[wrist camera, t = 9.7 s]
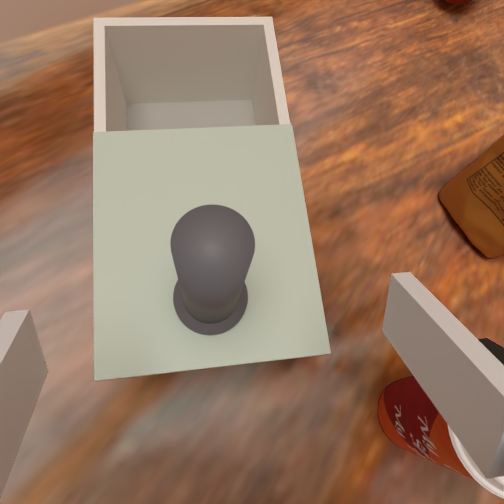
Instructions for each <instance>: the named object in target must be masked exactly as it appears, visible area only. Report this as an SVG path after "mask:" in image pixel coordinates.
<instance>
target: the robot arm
mask: <svg viewBox="0 0 504 504" xmlns="http://www.w3.org/2000/svg"><path fill="white" fill-rule="evenodd" d="M382 332H383V333H384V335H385V336H386V338H387V339H388V340H389V342H390V343H391V345H392V346H393V348H394V349H395V350H396V352H397V353H398V355H399V356H400V357H401V359H402V360H403V362H404V363H405V365H406V366H407V367H408V369H409V370H410V372H411V373H412V374H413V376H414V377H415V379H416V380H417V381H418V383H419V384H420V386H421V387H422V389H423V390H424V391H425V393H426V394H427V396H428V397H429V398H430V400H431V401H432V403H433V404H434V406H435V407H436V408H437V410H438V411H439V413H440V414H441V415H442V417H443V418H444V420H445V421H446V422H447V424H448V425H449V427H450V428H451V430H452V431H453V432H454V434H455V435H456V437H457V438H458V439H459V441H460V442H461V444H462V445H463V447H464V448H465V449H466V451H467V452H468V454H469V455H470V456H471V458H472V459H473V461H474V462H475V463H476V465H477V466H478V468H479V469H480V471H481V472H482V473H483V475H484V476H485V478H486V479H490V478H495V477H501V476H504V348H503V347H502V346H500V345H498V344H496V343H495V342H493V341H491V340H489V339H488V338H484V339H477V338H476V337H475V336H474V335H473V334H472V333H471V332H470V331H469V330H468V329H467V328H466V327H465V326H464V325H463V324H462V323H461V322H460V321H459V320H458V319H457V318H456V317H455V316H454V315H453V314H452V313H451V312H450V311H449V310H448V309H447V308H446V307H445V306H444V305H443V304H442V303H441V302H440V301H439V300H438V299H437V298H436V297H435V296H434V295H433V294H432V293H431V292H430V291H428V290H427V289H426V288H425V287H424V286H423V285H422V284H421V283H420V282H419V281H418V280H417V279H416V278H415V277H414V276H413V275H412V274H411V273H410V272H404V273H394V274H391V278H390V285H389V291H388V297H387V304H386V310H385V316H384V323H383V329H382ZM47 373H48V369H47V365H46V362H45V359H44V356H43V352H42V349H41V346H40V342H39V339H38V336H37V333H36V329H35V326H34V323H33V320H32V316H31V313H30V310H20V311H10V312H5V313H4V315H3V317H2V318H1V320H0V498H1V495H2V492H3V490H4V487H5V484H6V482H7V479H8V476H9V474H10V471H11V469H12V466H13V463H14V461H15V458H16V455H17V453H18V450H19V447H20V445H21V442H22V439H23V437H24V434H25V431H26V429H27V426H28V423H29V421H30V418H31V416H32V413H33V410H34V408H35V405H36V402H37V400H38V397H39V394H40V392H41V389H42V386H43V384H44V381H45V378H46V376H47Z"/></svg>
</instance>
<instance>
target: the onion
mask: <svg viewBox="0 0 504 504" xmlns="http://www.w3.org/2000/svg"><path fill="white" fill-rule="evenodd" d="M445 1H446V2H448V3H452V4H463V3H467V2H469V1H471V0H445Z"/></svg>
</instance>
